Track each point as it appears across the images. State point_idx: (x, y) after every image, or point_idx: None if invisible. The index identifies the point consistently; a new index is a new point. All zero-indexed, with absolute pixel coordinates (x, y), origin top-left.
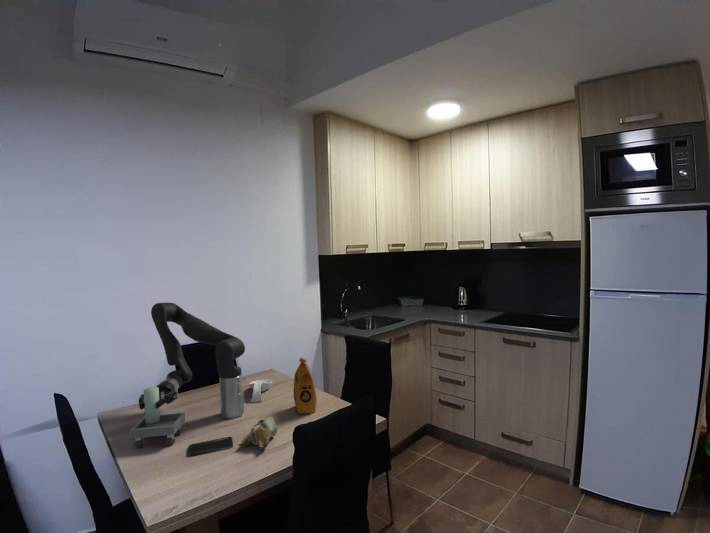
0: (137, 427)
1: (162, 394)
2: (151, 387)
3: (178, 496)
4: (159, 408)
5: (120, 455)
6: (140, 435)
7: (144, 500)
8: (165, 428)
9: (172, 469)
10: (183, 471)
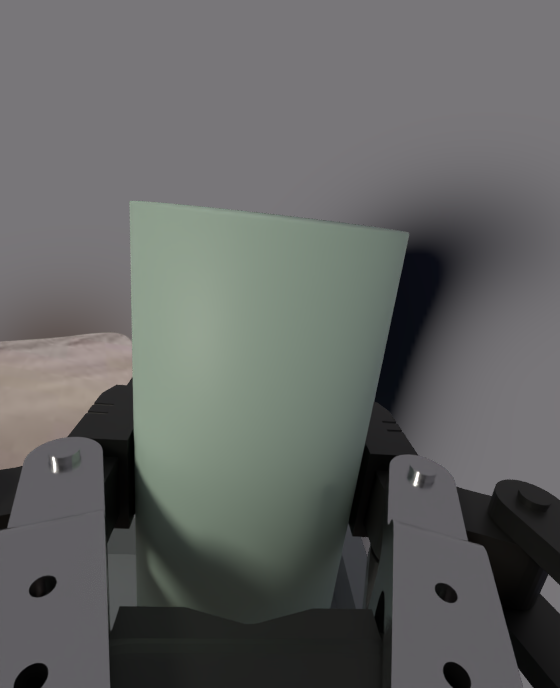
0: (345, 587)
1: (48, 572)
2: (337, 228)
3: (62, 357)
4: (136, 554)
5: None
6: None
7: None
8: None
9: (66, 432)
10: (27, 417)
